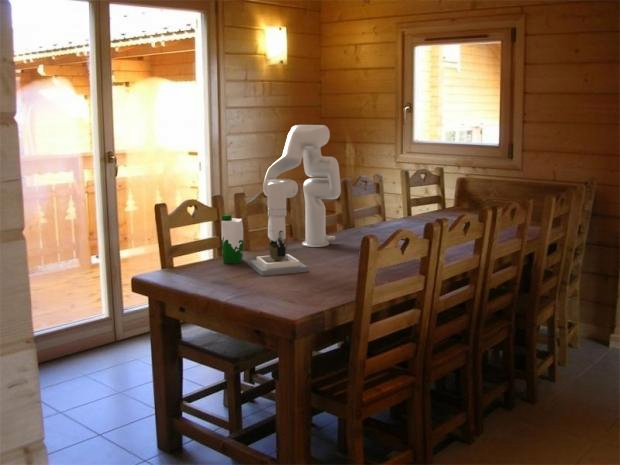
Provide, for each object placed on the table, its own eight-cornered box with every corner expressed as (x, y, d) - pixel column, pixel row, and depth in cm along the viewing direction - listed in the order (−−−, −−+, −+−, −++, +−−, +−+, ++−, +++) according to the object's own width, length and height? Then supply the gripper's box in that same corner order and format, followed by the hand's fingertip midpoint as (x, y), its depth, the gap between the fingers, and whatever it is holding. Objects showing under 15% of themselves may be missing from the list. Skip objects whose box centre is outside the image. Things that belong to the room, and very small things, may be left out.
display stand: (292, 261, 307) (292, 252, 306) (307, 271, 289) (307, 261, 289) (249, 265, 301) (248, 255, 300) (261, 275, 283) (261, 265, 282)
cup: (265, 264, 294) (265, 244, 292) (274, 260, 300) (274, 241, 298) (281, 266, 290) (281, 246, 289) (290, 262, 297) (290, 243, 295)
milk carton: (223, 259, 312) (222, 213, 309) (244, 259, 312) (243, 213, 308) (221, 263, 304) (219, 216, 300) (242, 263, 304) (241, 216, 300)
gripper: (262, 209, 298) (262, 250, 301) (274, 216, 282) (275, 259, 285) (279, 208, 300) (280, 248, 303) (292, 215, 284) (293, 257, 287)
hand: (277, 253), depth 294 cm, fingers open, 9 cm apart
